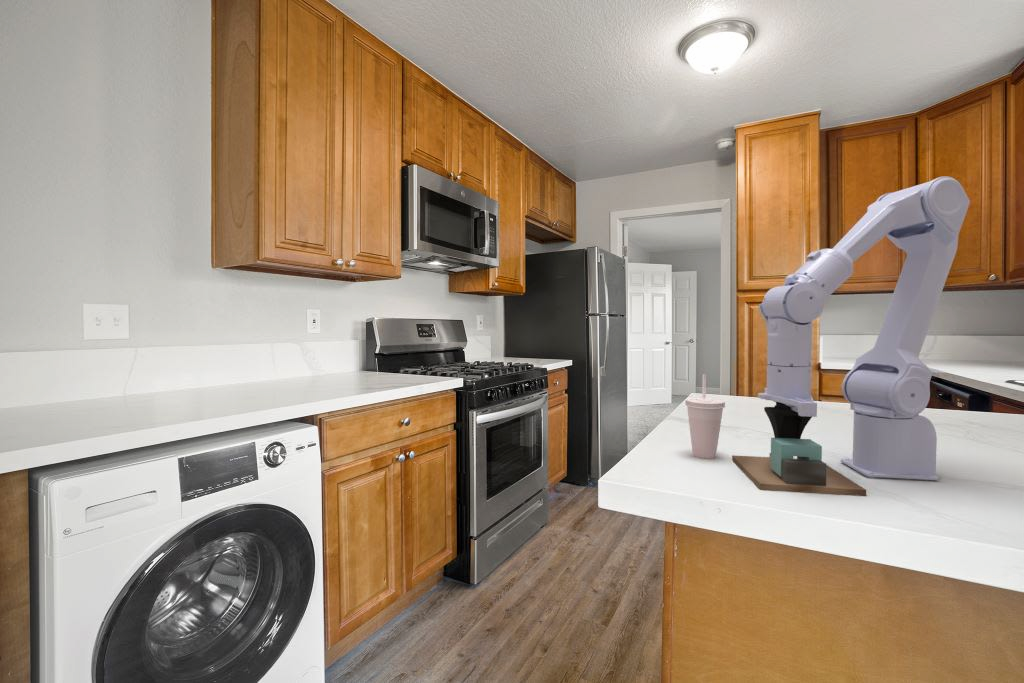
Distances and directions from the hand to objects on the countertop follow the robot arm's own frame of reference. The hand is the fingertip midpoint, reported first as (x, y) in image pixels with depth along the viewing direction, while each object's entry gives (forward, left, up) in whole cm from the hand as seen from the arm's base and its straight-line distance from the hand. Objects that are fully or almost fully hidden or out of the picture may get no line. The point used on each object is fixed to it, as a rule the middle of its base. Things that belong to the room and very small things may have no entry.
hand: (786, 455), depth 70 cm
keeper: (0, +3, -2) cm, 4 cm away
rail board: (0, +1, -3) cm, 3 cm away
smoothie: (+10, -8, -3) cm, 14 cm away
